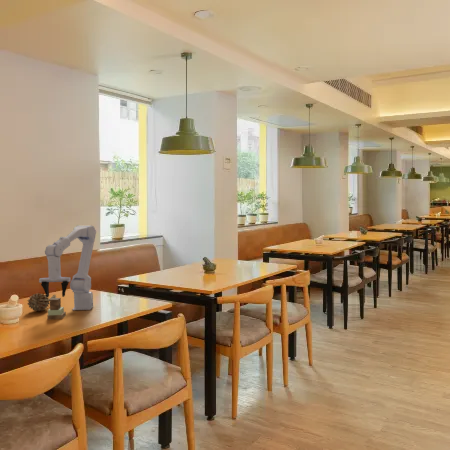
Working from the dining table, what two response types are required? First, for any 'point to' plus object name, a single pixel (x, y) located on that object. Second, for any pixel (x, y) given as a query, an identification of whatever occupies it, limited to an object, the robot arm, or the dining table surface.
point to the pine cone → (39, 301)
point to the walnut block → (55, 303)
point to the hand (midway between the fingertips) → (55, 296)
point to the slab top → (56, 311)
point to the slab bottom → (56, 316)
